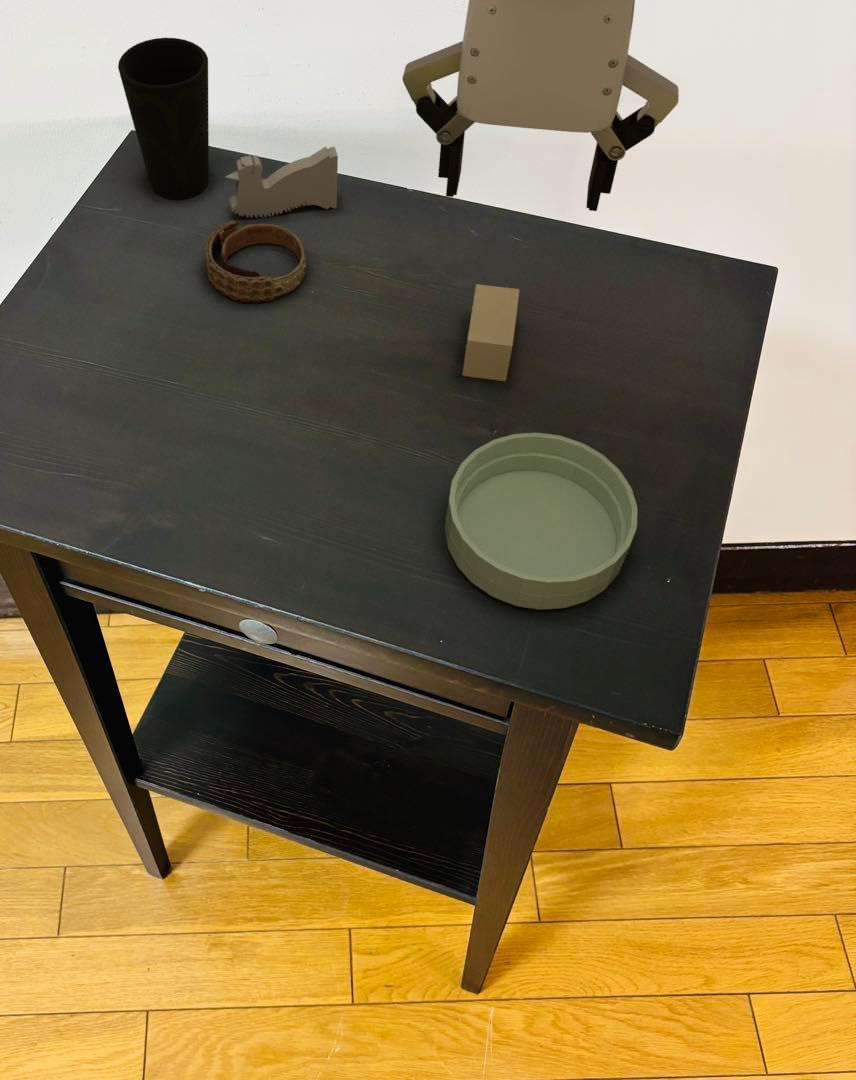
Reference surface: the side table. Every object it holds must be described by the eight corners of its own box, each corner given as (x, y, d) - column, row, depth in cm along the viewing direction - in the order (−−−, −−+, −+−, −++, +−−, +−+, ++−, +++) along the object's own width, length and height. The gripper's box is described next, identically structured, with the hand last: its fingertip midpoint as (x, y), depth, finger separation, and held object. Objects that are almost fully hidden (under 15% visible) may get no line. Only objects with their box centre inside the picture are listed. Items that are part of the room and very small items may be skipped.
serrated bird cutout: (336, 209, 98) (228, 221, 97) (333, 199, 99) (226, 212, 98) (337, 154, 93) (224, 167, 92) (334, 145, 94) (222, 158, 93)
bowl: (626, 480, 79) (639, 446, 76) (621, 627, 72) (635, 595, 69) (455, 456, 81) (461, 421, 78) (433, 597, 74) (438, 565, 70)
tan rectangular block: (470, 320, 89) (476, 283, 86) (512, 325, 89) (519, 289, 86) (462, 376, 86) (467, 340, 82) (505, 381, 85) (512, 345, 82)
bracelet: (190, 259, 94) (186, 232, 92) (276, 227, 96) (275, 200, 94) (235, 319, 90) (232, 292, 87) (324, 283, 92) (324, 256, 90)
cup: (236, 173, 101) (225, 53, 91) (188, 217, 97) (172, 97, 87) (171, 147, 103) (154, 28, 94) (122, 189, 100) (99, 69, 90)
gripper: (717, -87, 61) (649, 171, 75) (419, -105, 63) (406, 148, 77) (721, -21, 57) (648, 239, 71) (400, -43, 59) (391, 213, 73)
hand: (522, 191), depth 74 cm, fingers open, 9 cm apart
